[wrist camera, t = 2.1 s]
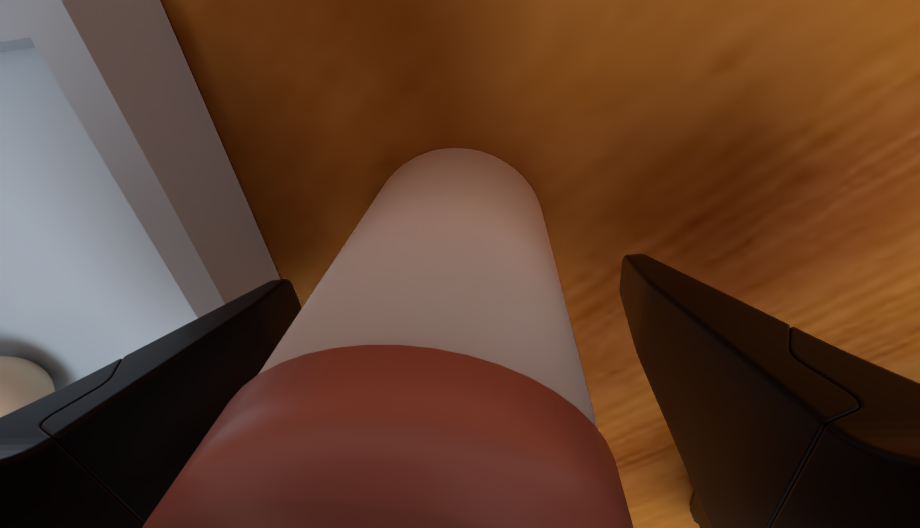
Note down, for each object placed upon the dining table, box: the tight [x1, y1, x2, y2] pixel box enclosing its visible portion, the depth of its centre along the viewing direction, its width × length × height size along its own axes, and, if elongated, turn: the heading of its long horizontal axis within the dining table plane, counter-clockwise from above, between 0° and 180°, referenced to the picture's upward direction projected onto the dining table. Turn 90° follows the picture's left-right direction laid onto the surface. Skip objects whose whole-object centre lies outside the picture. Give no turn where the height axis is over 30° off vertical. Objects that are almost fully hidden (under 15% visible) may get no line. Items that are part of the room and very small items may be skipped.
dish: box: [0, 0, 281, 391], centre depth 12 cm, size 14×14×2 cm
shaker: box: [142, 148, 633, 528], centre depth 8 cm, size 5×5×9 cm
